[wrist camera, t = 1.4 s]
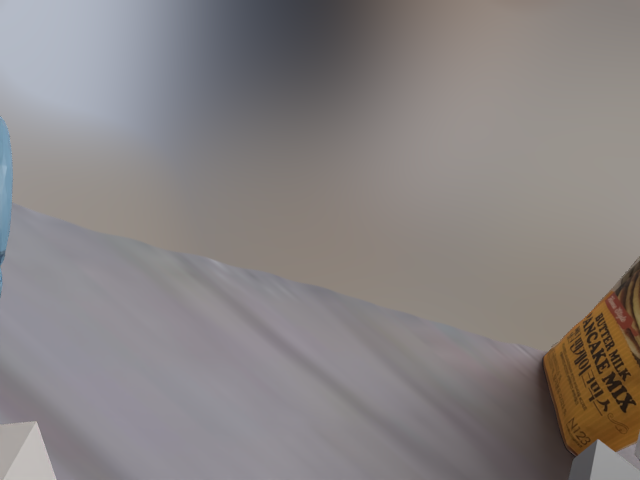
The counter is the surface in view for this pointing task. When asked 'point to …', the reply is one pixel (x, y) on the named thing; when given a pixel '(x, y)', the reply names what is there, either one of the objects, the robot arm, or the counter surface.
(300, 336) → the counter surface
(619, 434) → the pancake mix bag
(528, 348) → the counter surface
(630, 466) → the tall grey box
